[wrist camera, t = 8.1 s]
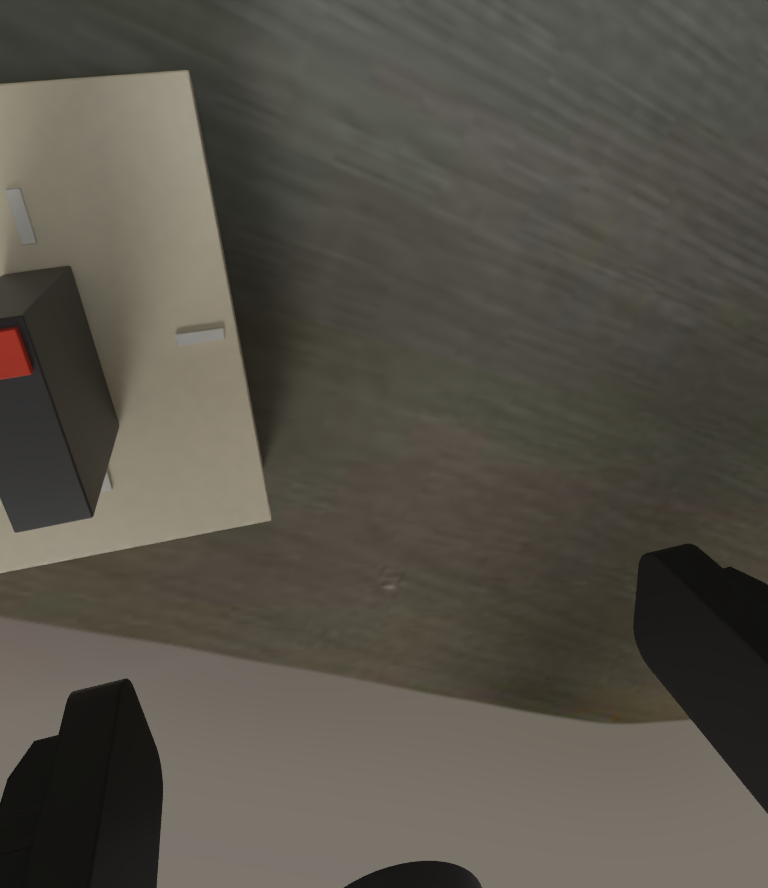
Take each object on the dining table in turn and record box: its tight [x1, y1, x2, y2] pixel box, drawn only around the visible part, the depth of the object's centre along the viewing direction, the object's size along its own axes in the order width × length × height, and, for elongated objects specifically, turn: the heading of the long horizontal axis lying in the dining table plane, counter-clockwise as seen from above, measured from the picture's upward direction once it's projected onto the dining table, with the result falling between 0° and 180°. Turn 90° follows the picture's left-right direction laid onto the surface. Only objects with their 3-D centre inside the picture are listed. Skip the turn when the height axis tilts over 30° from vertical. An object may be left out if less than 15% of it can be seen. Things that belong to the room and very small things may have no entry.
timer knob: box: [0, 266, 120, 533], centre depth 17 cm, size 5×2×6 cm, turn 6°
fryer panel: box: [0, 70, 272, 573], centre depth 21 cm, size 14×10×4 cm
